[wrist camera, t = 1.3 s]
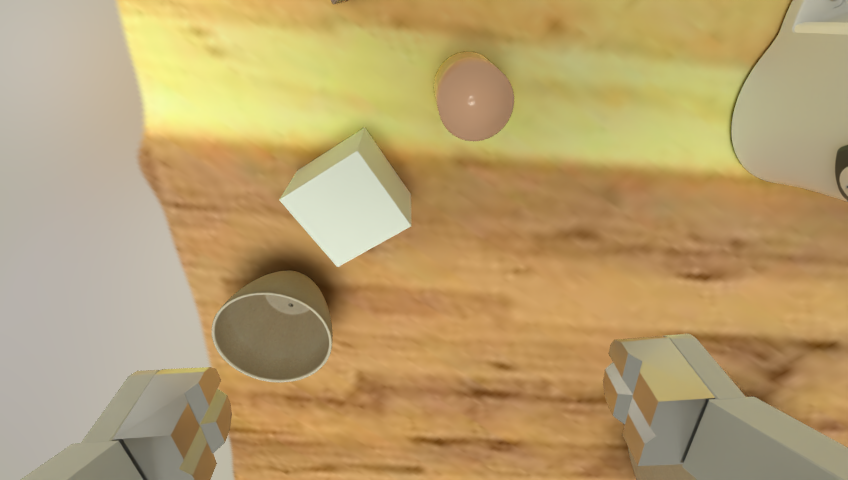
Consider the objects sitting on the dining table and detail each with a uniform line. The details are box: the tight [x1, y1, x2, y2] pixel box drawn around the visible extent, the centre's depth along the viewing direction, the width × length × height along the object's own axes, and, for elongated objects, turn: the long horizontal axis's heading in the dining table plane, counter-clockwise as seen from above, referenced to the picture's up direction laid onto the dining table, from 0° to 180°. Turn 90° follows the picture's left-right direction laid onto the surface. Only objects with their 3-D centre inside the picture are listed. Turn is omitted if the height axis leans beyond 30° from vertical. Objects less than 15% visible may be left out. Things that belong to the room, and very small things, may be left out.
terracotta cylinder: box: [434, 52, 514, 141], centre depth 31 cm, size 5×5×6 cm
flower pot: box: [212, 270, 332, 382], centre depth 40 cm, size 10×10×7 cm
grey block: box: [279, 127, 411, 267], centre depth 35 cm, size 7×7×6 cm
